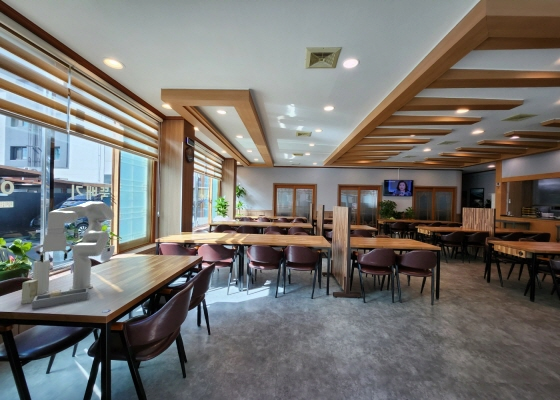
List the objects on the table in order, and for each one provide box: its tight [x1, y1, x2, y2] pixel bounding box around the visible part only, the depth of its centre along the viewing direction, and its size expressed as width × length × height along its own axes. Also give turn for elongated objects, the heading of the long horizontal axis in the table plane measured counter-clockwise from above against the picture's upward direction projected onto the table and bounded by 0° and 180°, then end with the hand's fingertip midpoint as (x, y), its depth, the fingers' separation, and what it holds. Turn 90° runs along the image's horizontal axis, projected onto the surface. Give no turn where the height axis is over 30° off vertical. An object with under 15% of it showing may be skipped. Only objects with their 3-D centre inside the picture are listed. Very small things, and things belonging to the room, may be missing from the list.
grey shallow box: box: [31, 288, 89, 310], centre depth 144 cm, size 10×24×4 cm, turn 130°
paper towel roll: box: [32, 259, 51, 296], centre depth 157 cm, size 7×6×21 cm
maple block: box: [49, 289, 62, 298], centre depth 143 cm, size 4×4×4 cm
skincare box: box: [20, 279, 38, 305], centre depth 143 cm, size 6×4×12 cm
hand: (53, 261), depth 142 cm, fingers open, 9 cm apart
